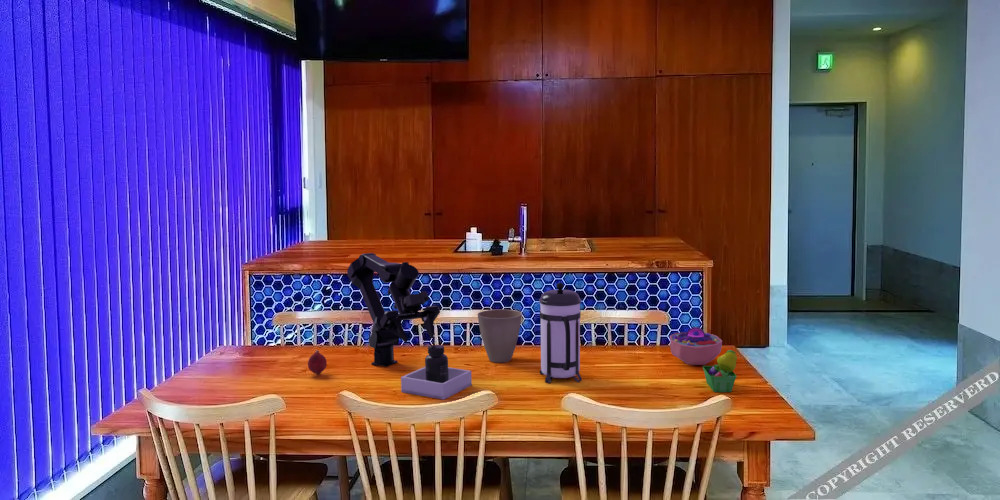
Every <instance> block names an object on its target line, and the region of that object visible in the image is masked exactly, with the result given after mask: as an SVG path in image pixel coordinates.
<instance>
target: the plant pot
mask: <svg viewBox="0 0 1000 500" xmlns="http://www.w3.org/2000/svg"><path fill="white" fill-rule="evenodd" d="M522 315H523V313H522V312H521V311H518V310H513V309H488V310H481V311H480V312H477V320H478V326H479V332H480V335H481V341H482V343H483V347H484V349H485V351H486V352H485V353H486V355H487V357H488V360H489V361H490V362H491V363H492V362H493V363H508V362H510V361H511V360H512V357H513V355H514V353H515V349H516V346H517V342H518V338H519V335H520V331H521V322H522V318H523V317H522Z"/></svg>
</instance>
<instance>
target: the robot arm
mask: <svg viewBox="0 0 1000 500" xmlns="http://www.w3.org/2000/svg"><path fill="white" fill-rule="evenodd" d="M346 272H347V274H346V275H347V277H348V278H349V279H350V281H351V283H352V285H353V286H355V287H356V288H358V289H359V291H360V293H361V296H362V297H363V301H364V302H365V305H366V308H367V310H368V313H369V316H370V317H371V318H370V319H372V320H371V321H372V328H371V334H370V336H369V339H368V344H369V345H368V346H369V347H371V348H372V349H374V351H373V361H372V362H371V365H374V366H380V367H384V368H385V367H386V368H387V367H389V366H392V365H394V364H396V363H398V360H397V359H396V360H395V356H394V355H395V353H394V352H395V351H394V346H399V340H400V339H401V340H402V341H403V342H404V343H407V342H408V337H407V333H405V330H404V327H403V325H402V321H407V320H408V321H409V320H416V319H421V321H422V322H423V323H422V325H423V327H424V329H425V330H426V332H427V334H428V336H429V337H430V338H431V339H434V336H435V334H434V332H435V331H434V328H435V327H434V322H435V320H436V319H437V317H439V315H440V314H441V309H440V308H439V306H438V305H429V306H426V307H425V308H424V310H423V311H419V310H421V308H422V306H421V305H425V304H426V302H428V301H429V299H430V296H429V294H428V292H427V290H424V291H420V292H419V293H411V291H410V289H412V287H413V285H414V283H415V282H416V280H417V278H418V277H419V269H418V268H416V267H415V266H414V265H412V264H410V263H409V261H403V262H401V263H400V262H388V261H387V260H385V259H384V258H381V257H379V256H377V255H376V253H374V252H368V253H362V254H360V255H359V257H358V258H356V259H354V260H353V261H352V262H351V263H350V265H349V266H348V268H347V271H346ZM375 273H377V274H378V278H379V280H381V281H382V282H383V283H384V284H388V283H391V284H389V287H388V290H387V295H391V297H392V300H393V302H394V305H393V308H394V309H395V310H385V309H384V306H383V304H382V301H381V299H380V297H379V294H378V292H377V290H376V287H375V285H374V282H373V280H374V277H375Z"/></svg>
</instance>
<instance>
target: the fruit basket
mask: <svg viewBox="0 0 1000 500" xmlns="http://www.w3.org/2000/svg"><path fill="white" fill-rule="evenodd" d="M737 360H738V356H737V352H736V351H734V350H732V349H728V350H727V351H726V352H725V353H723V354H722V355H720V356H718V357H717V359H716V362H717V364H713V365H702V369H703V372H704V377H705V381H706V384H707V385H708V387H709V388H710V389H711V391H713V393H731V392H733V387H734V386H735V385H734V384H735V382H736V379H737V374H736V373H735V372H734V371H735V369H736V366H737Z"/></svg>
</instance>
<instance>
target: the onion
mask: <svg viewBox="0 0 1000 500" xmlns="http://www.w3.org/2000/svg"><path fill="white" fill-rule="evenodd" d="M327 363H328V362H327V358H326V357H325V356H324V354H322V353H320V350H318V349H317V350H315V352H314V353H313V354H311V356H310V357H309V359H308V360H307V367H308V370H309V371H311V373H313V374H314V375H316V376H318V375H320V374H322V373H323V371H324V370H325V369H326V367H327Z"/></svg>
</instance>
